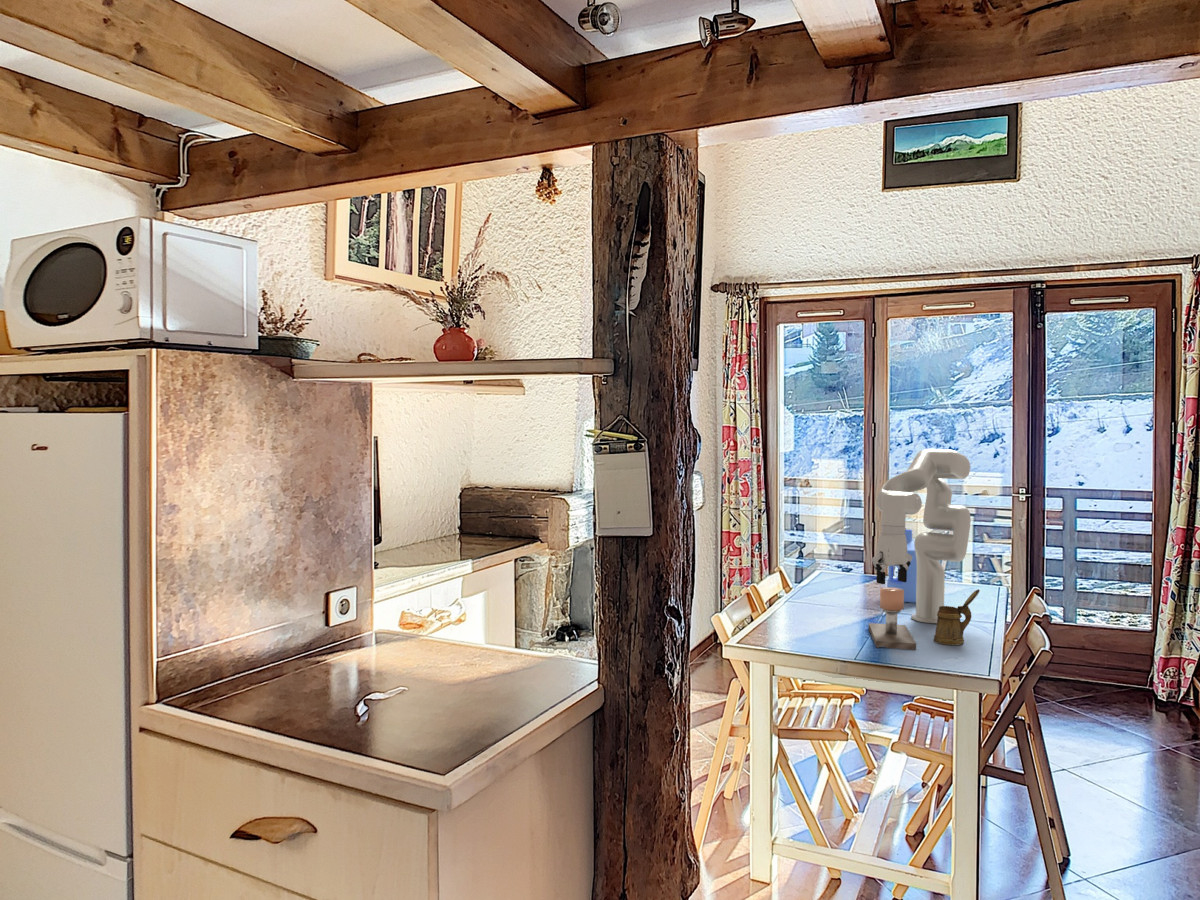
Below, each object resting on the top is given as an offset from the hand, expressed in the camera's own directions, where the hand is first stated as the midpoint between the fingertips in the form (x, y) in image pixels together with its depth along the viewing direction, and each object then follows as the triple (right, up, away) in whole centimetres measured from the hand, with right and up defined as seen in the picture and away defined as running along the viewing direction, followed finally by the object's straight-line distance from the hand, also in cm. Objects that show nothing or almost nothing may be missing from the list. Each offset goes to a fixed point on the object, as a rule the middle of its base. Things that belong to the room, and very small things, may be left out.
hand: (891, 582), depth 275 cm
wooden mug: (+20, -19, -3) cm, 28 cm away
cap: (0, -8, +1) cm, 8 cm away
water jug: (+28, -17, +63) cm, 71 cm away
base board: (0, -19, +1) cm, 19 cm away
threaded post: (0, -17, +1) cm, 17 cm away
